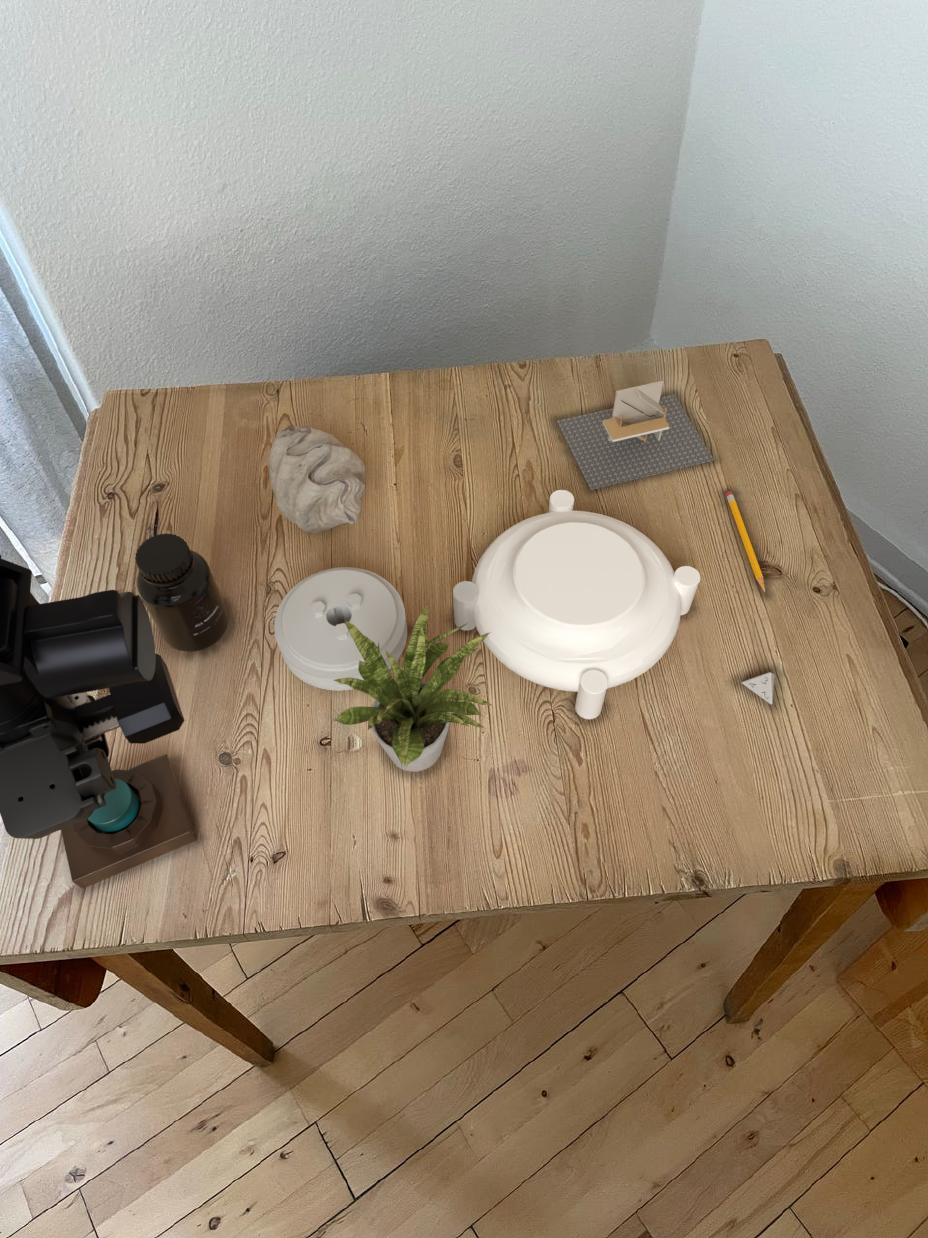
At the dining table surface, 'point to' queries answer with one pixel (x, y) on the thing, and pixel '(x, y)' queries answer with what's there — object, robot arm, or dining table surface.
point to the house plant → (411, 696)
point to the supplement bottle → (180, 593)
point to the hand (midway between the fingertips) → (87, 781)
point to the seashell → (315, 479)
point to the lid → (338, 624)
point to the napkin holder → (634, 438)
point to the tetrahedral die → (762, 686)
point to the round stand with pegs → (575, 601)
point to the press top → (116, 809)
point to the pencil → (745, 539)
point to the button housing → (132, 827)
